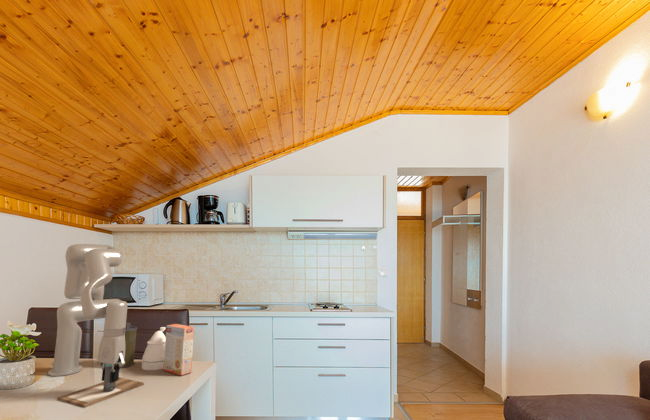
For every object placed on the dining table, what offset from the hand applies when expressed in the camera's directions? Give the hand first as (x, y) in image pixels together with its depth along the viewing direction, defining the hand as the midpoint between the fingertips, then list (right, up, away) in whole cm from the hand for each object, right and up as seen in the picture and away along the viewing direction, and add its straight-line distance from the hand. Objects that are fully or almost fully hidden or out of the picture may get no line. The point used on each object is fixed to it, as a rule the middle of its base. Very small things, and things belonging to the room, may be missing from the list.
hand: (110, 380), depth 134 cm
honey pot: (+2, -10, +33) cm, 34 cm away
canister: (-15, -10, +34) cm, 38 cm away
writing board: (-3, -5, +1) cm, 6 cm away
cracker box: (+16, -9, +25) cm, 31 cm away
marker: (0, -3, 0) cm, 3 cm away
